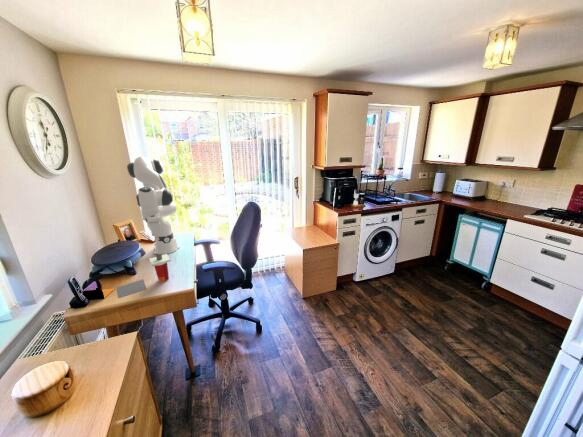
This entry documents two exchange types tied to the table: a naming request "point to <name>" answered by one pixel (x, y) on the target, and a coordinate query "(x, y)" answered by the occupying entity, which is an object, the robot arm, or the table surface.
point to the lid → (159, 259)
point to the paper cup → (162, 272)
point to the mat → (131, 288)
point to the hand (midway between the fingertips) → (155, 237)
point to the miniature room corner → (95, 292)
